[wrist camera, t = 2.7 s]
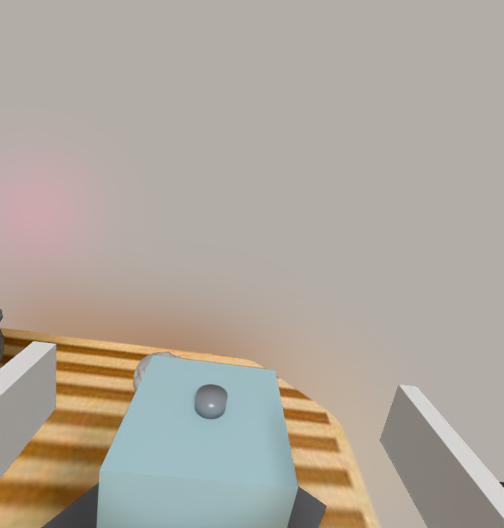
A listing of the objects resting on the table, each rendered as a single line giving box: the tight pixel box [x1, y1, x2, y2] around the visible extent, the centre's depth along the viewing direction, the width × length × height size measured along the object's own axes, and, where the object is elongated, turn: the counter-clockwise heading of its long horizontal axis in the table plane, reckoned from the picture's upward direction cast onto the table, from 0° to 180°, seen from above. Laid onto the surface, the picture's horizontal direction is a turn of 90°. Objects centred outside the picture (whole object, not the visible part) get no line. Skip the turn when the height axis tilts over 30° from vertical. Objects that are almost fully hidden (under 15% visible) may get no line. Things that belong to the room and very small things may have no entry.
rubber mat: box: [42, 483, 326, 528], centre depth 25 cm, size 17×17×1 cm
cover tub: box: [97, 355, 298, 528], centre depth 25 cm, size 12×12×11 cm
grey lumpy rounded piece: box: [133, 352, 180, 391], centre depth 37 cm, size 6×7×7 cm
